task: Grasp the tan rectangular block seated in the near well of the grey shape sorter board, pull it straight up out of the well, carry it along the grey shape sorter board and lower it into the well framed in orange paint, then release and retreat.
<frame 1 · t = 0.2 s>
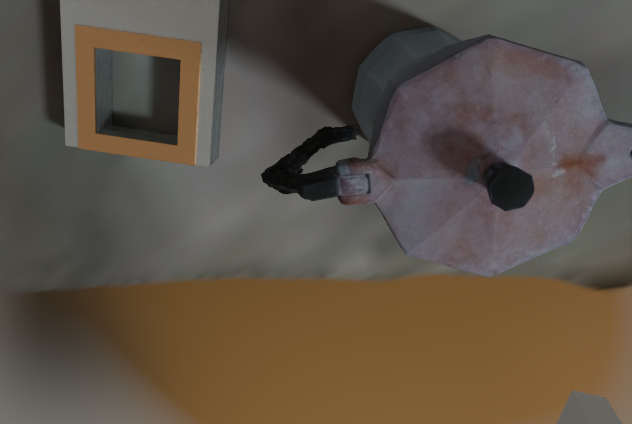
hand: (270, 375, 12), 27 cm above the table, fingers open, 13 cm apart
moka pot: (413, 99, 37), on the table
grey shape sorter board: (153, 0, 36), on the table
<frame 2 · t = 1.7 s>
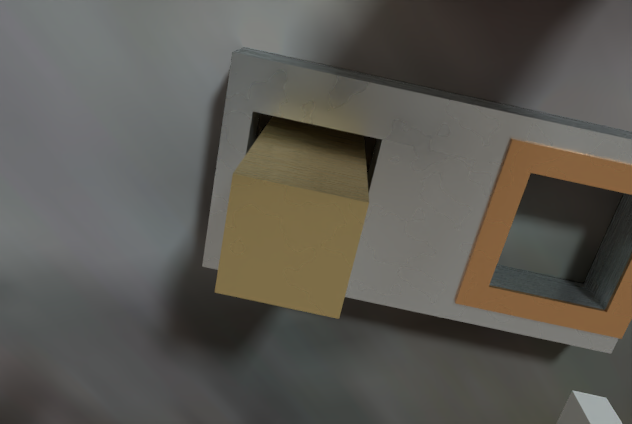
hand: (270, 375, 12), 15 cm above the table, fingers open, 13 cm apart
grey shape sorter board: (429, 196, 26), on the table
tan rectangular block: (309, 170, 26), resting in grey shape sorter board
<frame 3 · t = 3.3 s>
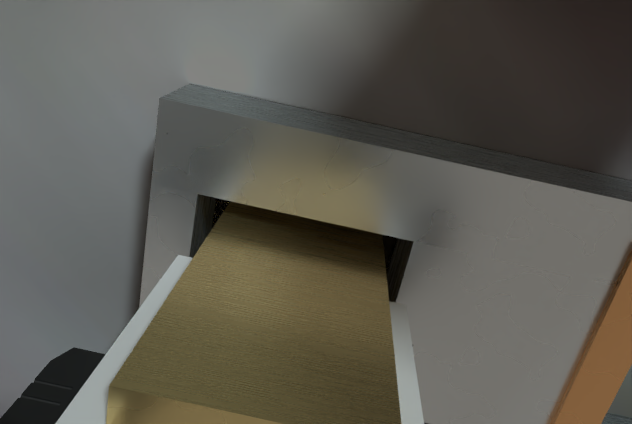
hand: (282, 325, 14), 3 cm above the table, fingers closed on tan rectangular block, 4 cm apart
grey shape sorter board: (482, 310, 17), on the table
tan rectangular block: (295, 269, 17), resting in grey shape sorter board, touching gripper
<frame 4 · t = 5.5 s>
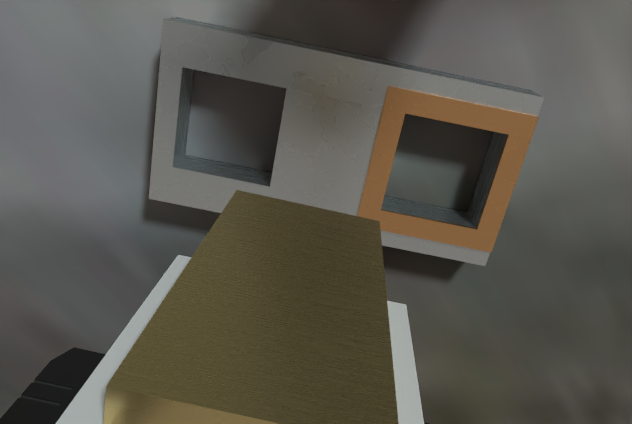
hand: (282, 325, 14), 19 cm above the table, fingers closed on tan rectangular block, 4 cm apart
grey shape sorter board: (336, 139, 32), on the table
tan rectangular block: (294, 269, 17), point 16 cm above the table, touching gripper
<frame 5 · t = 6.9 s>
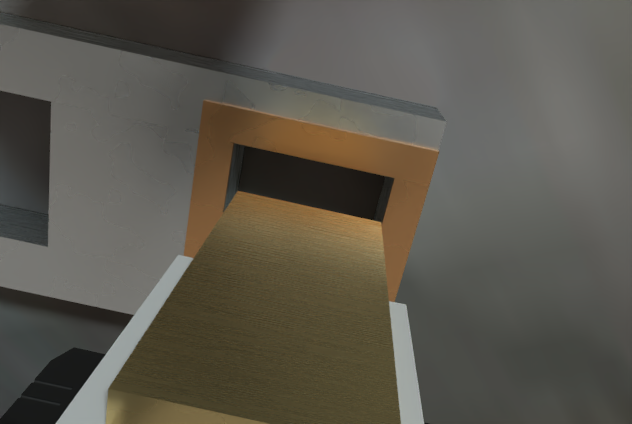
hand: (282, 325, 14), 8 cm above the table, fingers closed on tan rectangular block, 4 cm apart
grey shape sorter board: (159, 176, 22), on the table
tan rectangular block: (295, 270, 17), point 5 cm above the table, touching gripper
when the fingers open (5 cm above the table, at t = 7.9 s): tan rectangular block drops 2 cm, resting in grey shape sorter board.
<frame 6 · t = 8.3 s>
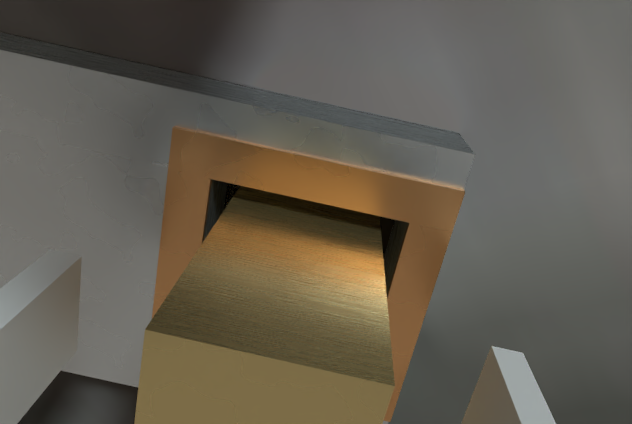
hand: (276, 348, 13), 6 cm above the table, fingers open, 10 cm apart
grey shape sorter board: (128, 211, 18), on the table
tan rectangular block: (299, 249, 18), resting in grey shape sorter board
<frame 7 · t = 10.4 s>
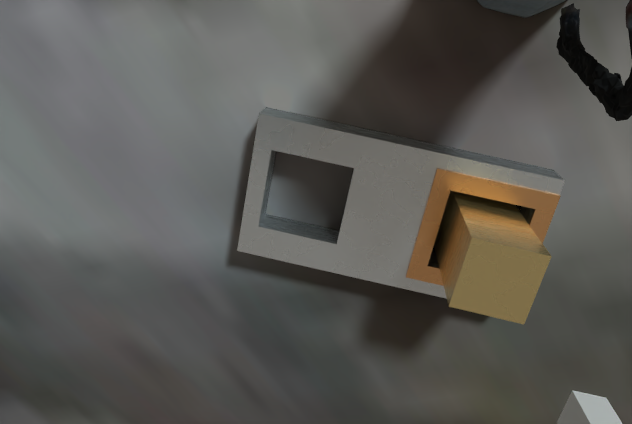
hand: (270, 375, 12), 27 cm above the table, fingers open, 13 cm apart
grey shape sorter board: (390, 205, 39), on the table
tan rectangular block: (472, 223, 39), resting in grey shape sorter board
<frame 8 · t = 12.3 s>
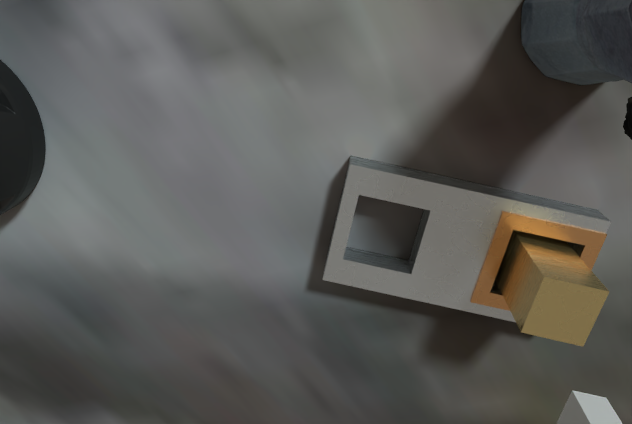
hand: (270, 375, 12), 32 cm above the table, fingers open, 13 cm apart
moka pot: (585, 23, 38), on the table
grey shape sorter board: (455, 239, 45), on the table
tan rectangular block: (525, 254, 45), resting in grey shape sorter board
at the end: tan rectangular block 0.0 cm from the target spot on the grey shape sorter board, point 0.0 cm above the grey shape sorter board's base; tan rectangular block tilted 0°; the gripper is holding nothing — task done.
